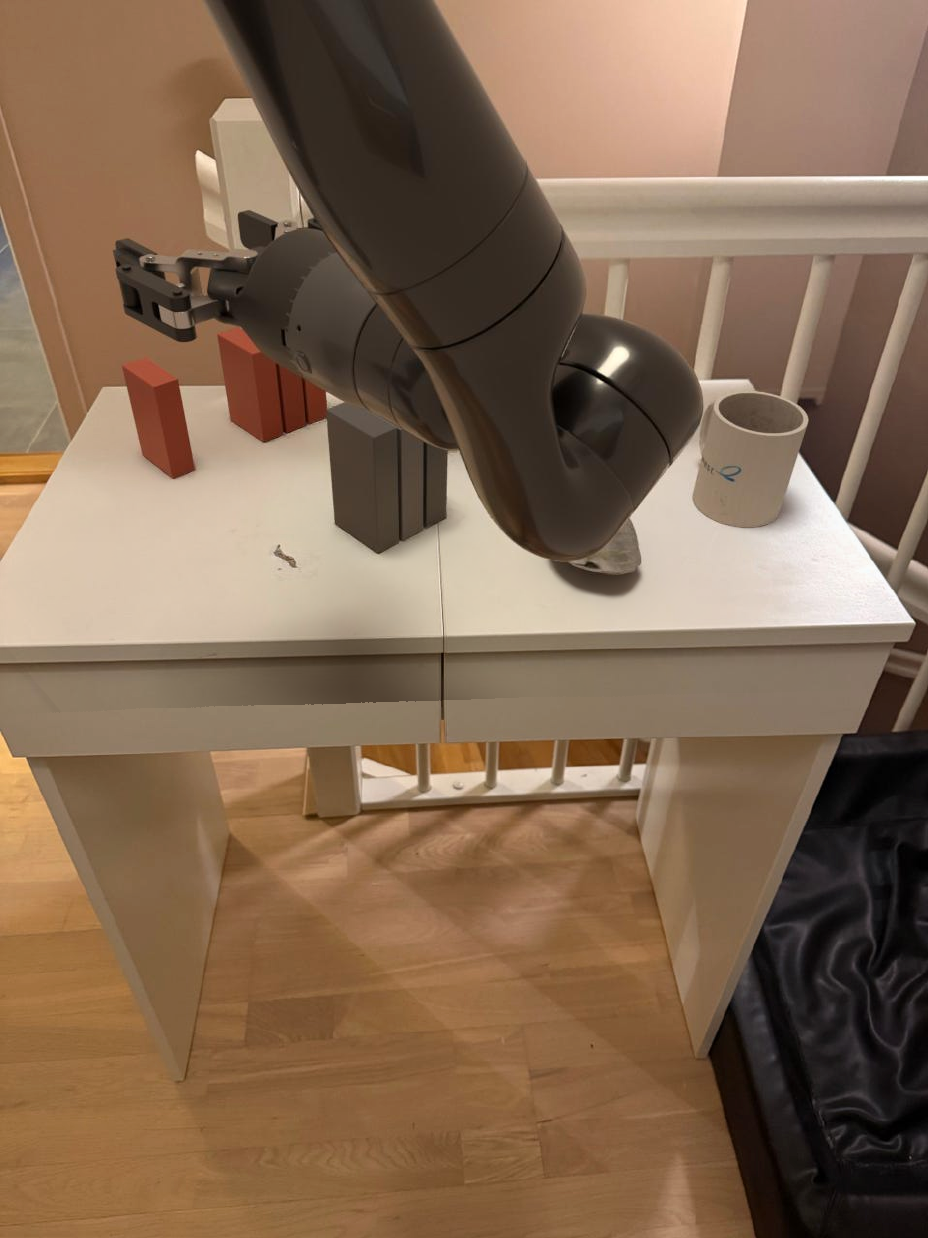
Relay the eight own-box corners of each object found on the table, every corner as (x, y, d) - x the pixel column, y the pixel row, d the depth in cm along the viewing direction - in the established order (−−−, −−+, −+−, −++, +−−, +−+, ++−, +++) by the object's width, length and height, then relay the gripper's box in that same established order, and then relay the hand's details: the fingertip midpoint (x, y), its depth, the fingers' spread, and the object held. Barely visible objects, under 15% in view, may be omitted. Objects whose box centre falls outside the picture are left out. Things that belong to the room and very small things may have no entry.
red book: (172, 478, 90) (153, 386, 83) (142, 455, 93) (121, 364, 87) (195, 469, 91) (178, 378, 85) (164, 446, 95) (145, 357, 88)
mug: (793, 525, 87) (823, 434, 81) (708, 529, 86) (731, 437, 80) (749, 459, 97) (773, 372, 90) (671, 461, 96) (690, 374, 89)
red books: (263, 442, 96) (251, 349, 89) (230, 420, 99) (216, 328, 92) (328, 416, 100) (321, 326, 94) (293, 396, 104) (284, 307, 97)
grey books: (378, 554, 82) (373, 433, 74) (334, 523, 85) (325, 404, 77) (446, 517, 86) (449, 400, 78) (402, 490, 90) (400, 375, 82)
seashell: (541, 515, 87) (546, 471, 84) (626, 518, 87) (634, 474, 84) (548, 594, 78) (554, 548, 75) (643, 597, 78) (653, 551, 75)
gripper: (447, 222, 49) (272, 156, 58) (225, 285, 42) (61, 199, 50) (444, 351, 54) (284, 274, 63) (245, 429, 47) (93, 329, 55)
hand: (185, 240), depth 56 cm, fingers open, 8 cm apart
